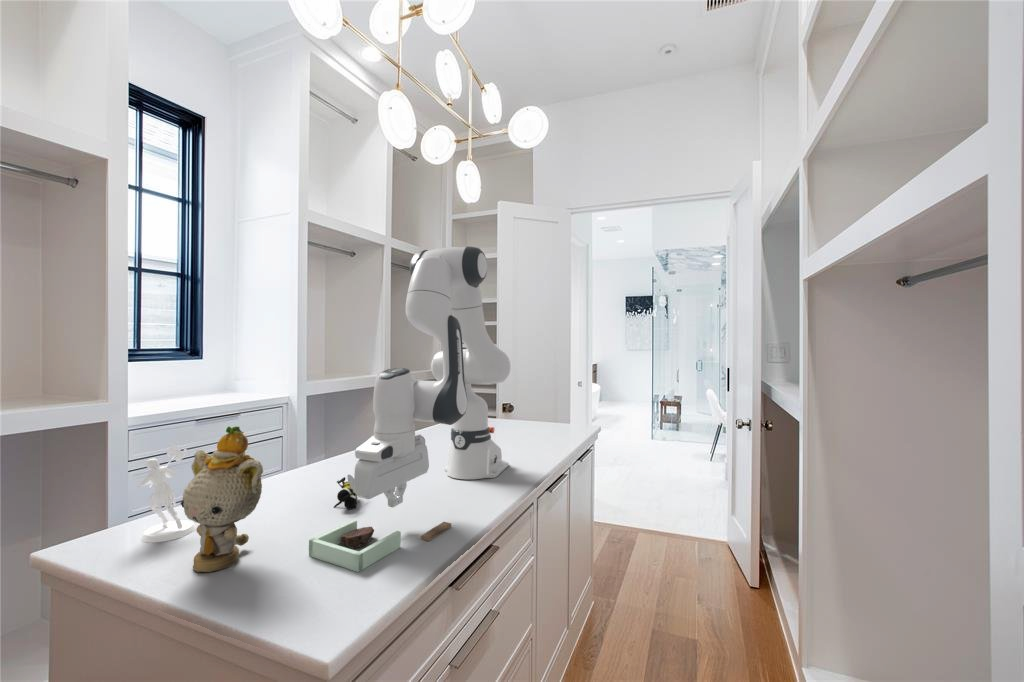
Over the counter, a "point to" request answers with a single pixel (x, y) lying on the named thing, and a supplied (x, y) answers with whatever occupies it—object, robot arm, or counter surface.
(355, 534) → the stone
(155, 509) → the figurine
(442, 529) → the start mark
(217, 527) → the figurine
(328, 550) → the green u-shaped bracket
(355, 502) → the toy
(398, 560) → the counter surface
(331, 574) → the counter surface
